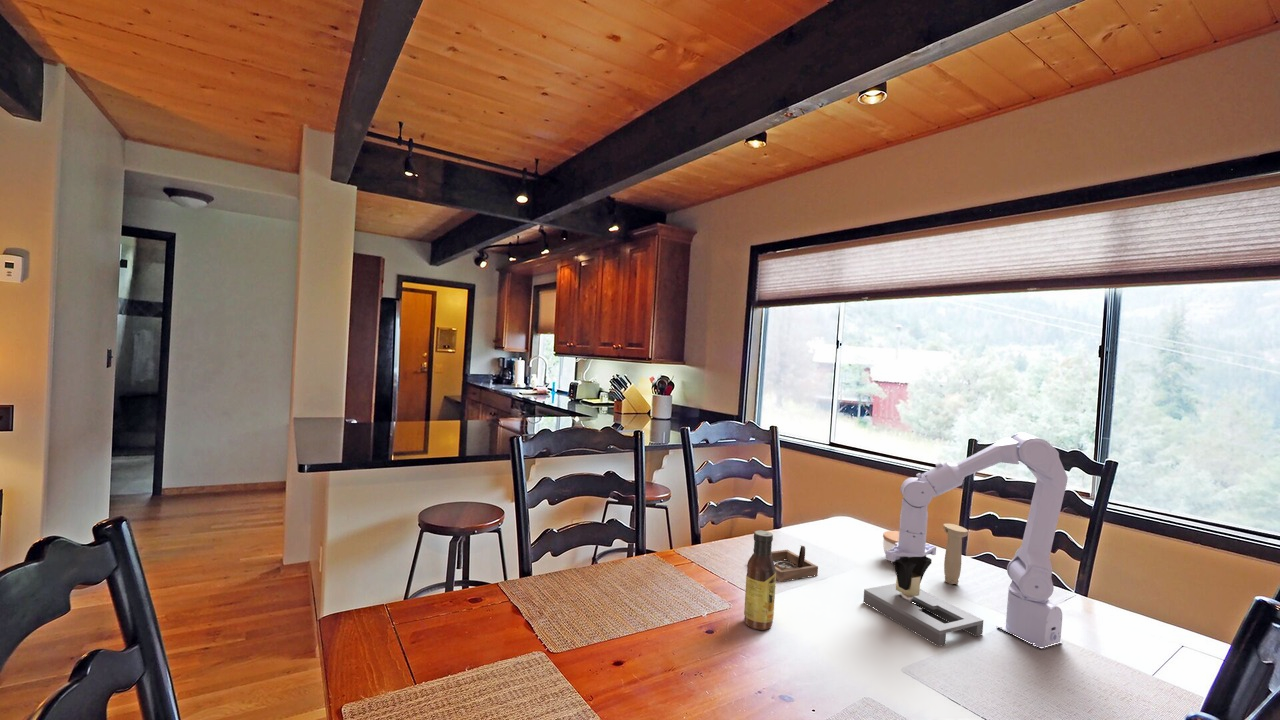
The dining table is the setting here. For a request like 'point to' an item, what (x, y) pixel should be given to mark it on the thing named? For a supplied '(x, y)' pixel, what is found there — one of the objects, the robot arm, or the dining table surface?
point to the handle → (953, 552)
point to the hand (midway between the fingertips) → (908, 587)
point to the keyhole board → (915, 619)
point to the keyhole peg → (910, 588)
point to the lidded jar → (890, 539)
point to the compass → (789, 565)
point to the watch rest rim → (794, 573)
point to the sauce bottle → (760, 583)
